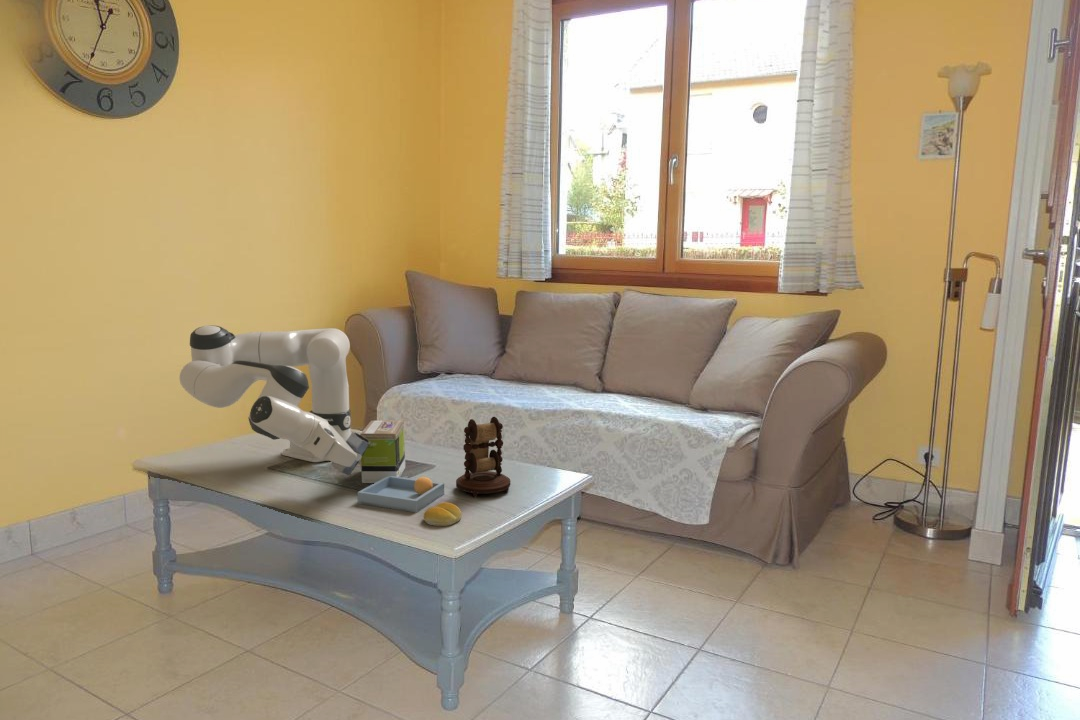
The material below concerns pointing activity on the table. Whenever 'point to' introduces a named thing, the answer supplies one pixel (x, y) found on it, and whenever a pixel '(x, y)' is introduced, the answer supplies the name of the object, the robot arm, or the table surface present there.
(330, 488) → the table surface
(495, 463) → the wooden spool stand
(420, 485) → the ball
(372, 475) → the tea box
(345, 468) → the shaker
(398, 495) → the tray
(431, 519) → the bread roll
